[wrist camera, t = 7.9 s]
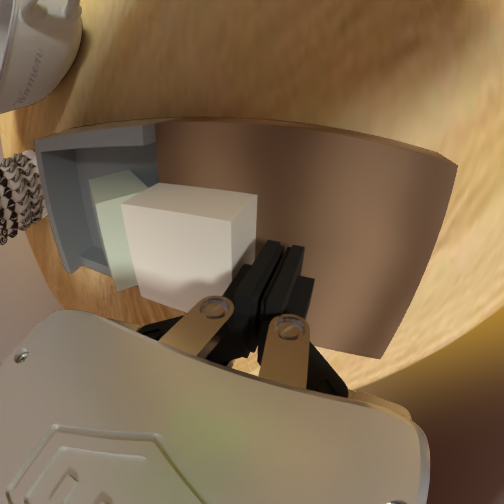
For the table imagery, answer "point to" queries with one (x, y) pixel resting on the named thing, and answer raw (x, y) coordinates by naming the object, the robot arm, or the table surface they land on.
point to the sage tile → (115, 222)
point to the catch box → (77, 180)
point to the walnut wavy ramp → (326, 211)
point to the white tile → (188, 241)
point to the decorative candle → (20, 194)
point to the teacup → (36, 48)
